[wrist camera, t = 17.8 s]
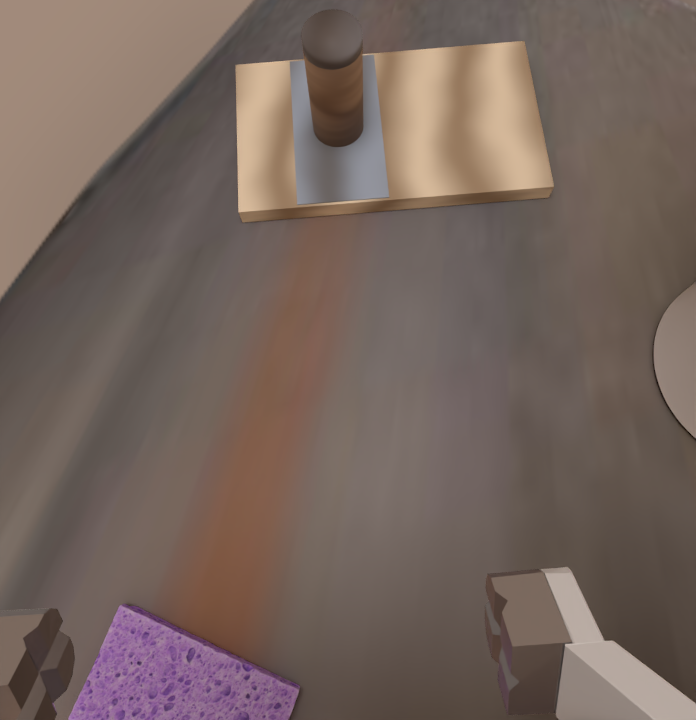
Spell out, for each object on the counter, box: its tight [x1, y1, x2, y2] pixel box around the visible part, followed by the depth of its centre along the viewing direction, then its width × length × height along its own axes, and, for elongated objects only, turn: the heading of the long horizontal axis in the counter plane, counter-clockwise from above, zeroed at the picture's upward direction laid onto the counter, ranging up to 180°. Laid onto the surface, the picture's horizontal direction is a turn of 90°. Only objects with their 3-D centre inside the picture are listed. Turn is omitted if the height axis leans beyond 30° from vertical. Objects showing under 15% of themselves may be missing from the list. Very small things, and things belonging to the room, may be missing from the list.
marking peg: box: [301, 10, 364, 147], centre depth 44 cm, size 4×4×9 cm
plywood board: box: [236, 41, 554, 222], centre depth 49 cm, size 24×14×2 cm, turn 94°
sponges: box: [68, 604, 300, 720], centre depth 37 cm, size 7×13×2 cm, turn 67°
